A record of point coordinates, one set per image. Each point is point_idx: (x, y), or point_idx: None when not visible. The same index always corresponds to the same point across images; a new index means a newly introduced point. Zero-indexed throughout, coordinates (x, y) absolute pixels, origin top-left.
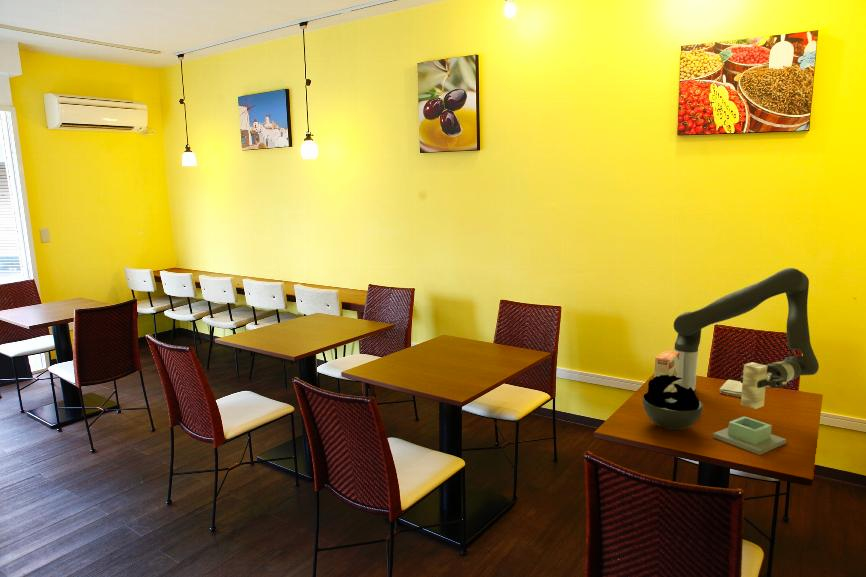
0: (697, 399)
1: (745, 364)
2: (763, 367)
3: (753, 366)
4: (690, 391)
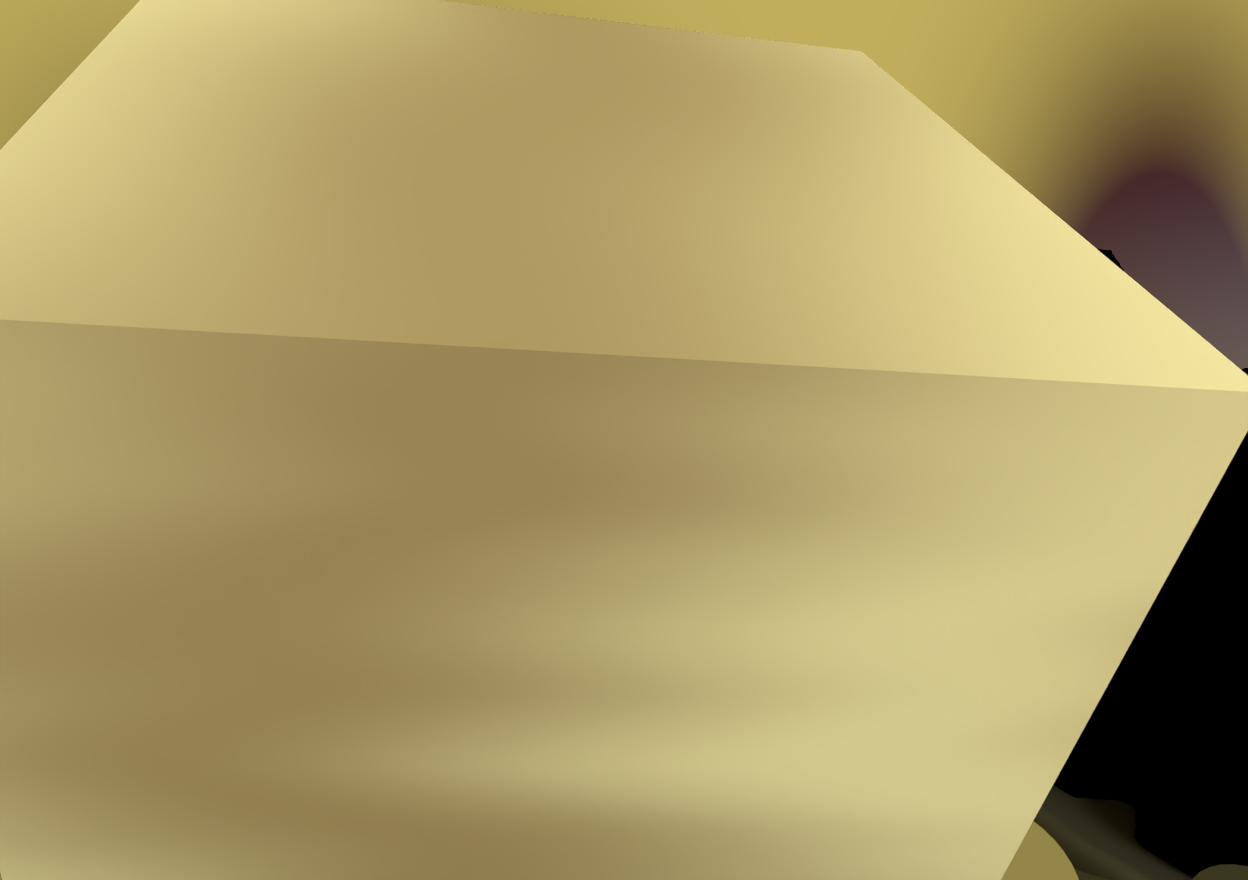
0: (1103, 725)
1: (869, 69)
2: (66, 101)
3: (501, 28)
4: (1183, 577)
